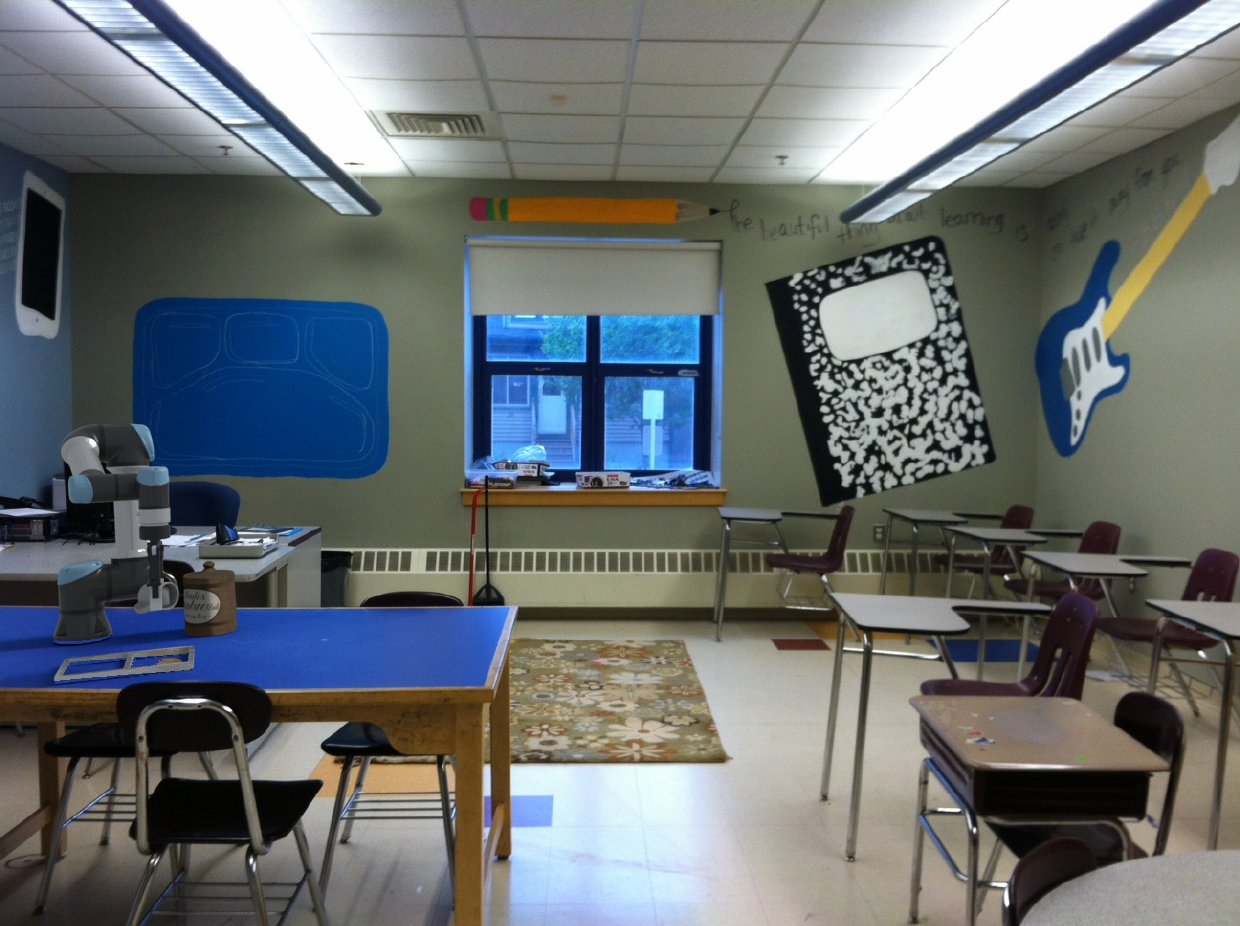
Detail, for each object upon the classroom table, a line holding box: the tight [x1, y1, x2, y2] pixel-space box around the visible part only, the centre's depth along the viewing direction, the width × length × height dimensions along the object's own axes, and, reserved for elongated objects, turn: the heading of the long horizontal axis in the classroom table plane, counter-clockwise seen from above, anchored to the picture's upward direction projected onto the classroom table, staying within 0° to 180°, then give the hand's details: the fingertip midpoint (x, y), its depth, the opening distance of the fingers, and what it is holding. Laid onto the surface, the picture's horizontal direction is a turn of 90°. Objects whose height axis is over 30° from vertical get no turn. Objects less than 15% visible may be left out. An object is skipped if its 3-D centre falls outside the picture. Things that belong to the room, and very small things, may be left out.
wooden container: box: [182, 560, 238, 638], centre depth 275 cm, size 15×15×22 cm
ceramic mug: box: [133, 581, 179, 615], centre depth 237 cm, size 10×8×7 cm
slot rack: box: [53, 644, 196, 681], centre depth 236 cm, size 19×31×2 cm, turn 115°
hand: (157, 606), depth 238 cm, fingers closed on ceramic mug, 10 cm apart
